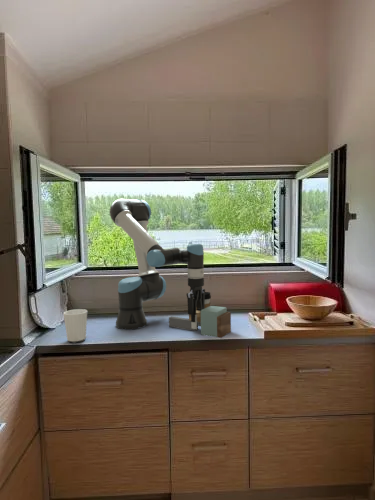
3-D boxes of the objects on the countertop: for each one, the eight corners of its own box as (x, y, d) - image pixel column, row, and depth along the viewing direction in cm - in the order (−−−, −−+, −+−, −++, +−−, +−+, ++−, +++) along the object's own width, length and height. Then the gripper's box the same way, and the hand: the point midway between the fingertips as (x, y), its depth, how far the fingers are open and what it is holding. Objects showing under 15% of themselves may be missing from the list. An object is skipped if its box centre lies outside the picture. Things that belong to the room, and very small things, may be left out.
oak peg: (189, 320, 160) (188, 311, 159) (193, 318, 163) (193, 309, 163) (215, 324, 152) (215, 315, 152) (219, 321, 156) (219, 313, 155)
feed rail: (169, 326, 167) (168, 317, 167) (171, 325, 169) (171, 316, 169) (195, 330, 159) (195, 321, 159) (198, 329, 161) (198, 320, 161)
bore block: (201, 334, 153) (200, 310, 152) (211, 328, 162) (211, 305, 161) (217, 337, 149) (216, 312, 148) (226, 331, 158) (226, 307, 157)
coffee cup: (210, 324, 168) (209, 294, 167) (193, 324, 170) (192, 294, 169) (212, 320, 176) (211, 291, 175) (196, 319, 178) (195, 291, 177)
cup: (91, 341, 147) (89, 312, 146) (67, 346, 142) (65, 315, 141) (85, 335, 156) (84, 307, 155) (62, 339, 151) (61, 311, 150)
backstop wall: (217, 337, 149) (216, 316, 148) (226, 331, 157) (226, 311, 157) (221, 337, 148) (221, 317, 147) (230, 331, 156) (230, 312, 156)
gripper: (193, 280, 149) (194, 333, 151) (211, 275, 164) (212, 323, 165) (179, 279, 153) (180, 331, 155) (197, 274, 168) (198, 321, 169)
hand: (196, 327), depth 160 cm, fingers closed on oak peg, 4 cm apart
